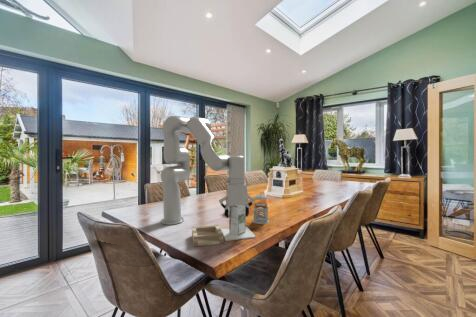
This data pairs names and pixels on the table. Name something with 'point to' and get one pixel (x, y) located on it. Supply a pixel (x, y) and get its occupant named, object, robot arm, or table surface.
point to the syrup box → (237, 219)
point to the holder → (207, 235)
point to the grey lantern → (260, 210)
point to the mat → (232, 236)
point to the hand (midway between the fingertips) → (236, 216)
